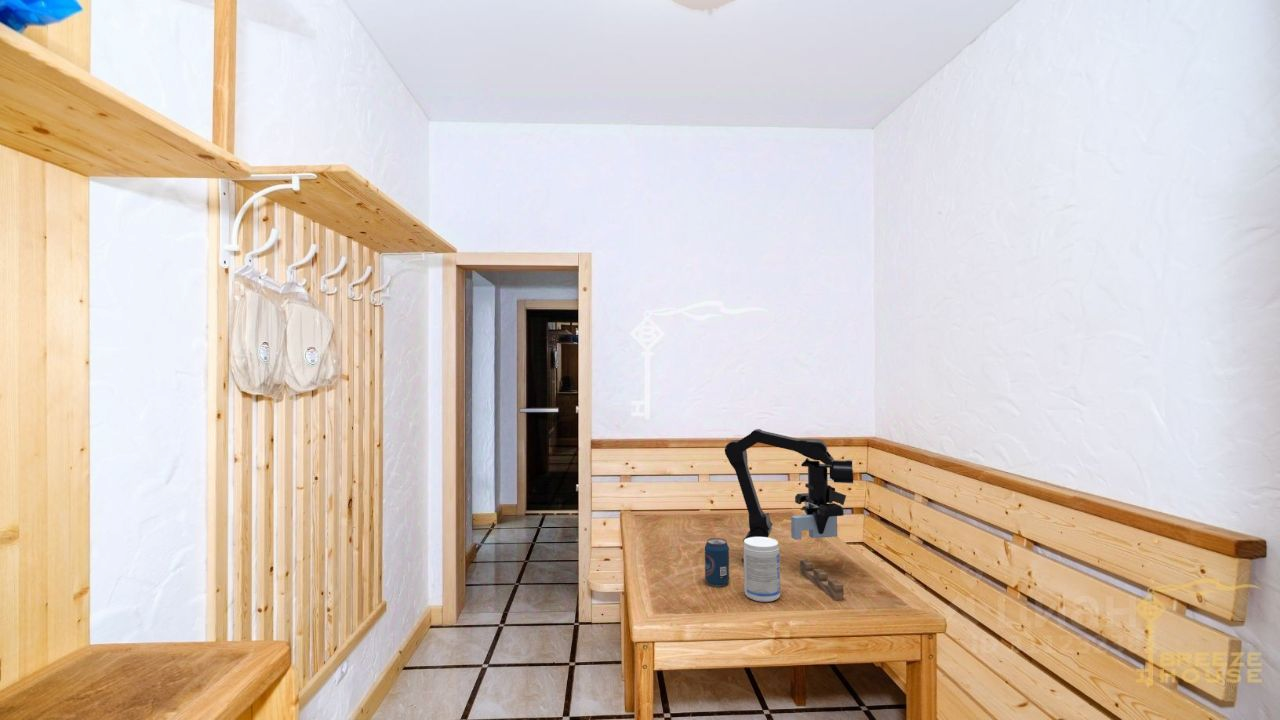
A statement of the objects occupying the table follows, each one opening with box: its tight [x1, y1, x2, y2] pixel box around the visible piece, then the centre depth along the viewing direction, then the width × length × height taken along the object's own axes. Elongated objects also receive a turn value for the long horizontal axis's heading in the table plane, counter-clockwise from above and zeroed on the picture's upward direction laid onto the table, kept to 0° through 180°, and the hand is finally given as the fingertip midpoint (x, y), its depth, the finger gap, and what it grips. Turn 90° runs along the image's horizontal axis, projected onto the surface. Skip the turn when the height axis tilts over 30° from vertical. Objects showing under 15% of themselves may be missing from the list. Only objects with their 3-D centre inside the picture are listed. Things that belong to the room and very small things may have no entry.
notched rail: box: [799, 559, 845, 601], centre depth 154 cm, size 20×2×4 cm, turn 11°
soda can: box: [704, 537, 730, 588], centre depth 157 cm, size 7×7×12 cm
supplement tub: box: [743, 536, 781, 603], centre depth 148 cm, size 10×10×15 cm
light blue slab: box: [790, 514, 838, 541], centre depth 166 cm, size 14×2×6 cm, turn 102°
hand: (818, 532), depth 166 cm, fingers closed on light blue slab, 2 cm apart
